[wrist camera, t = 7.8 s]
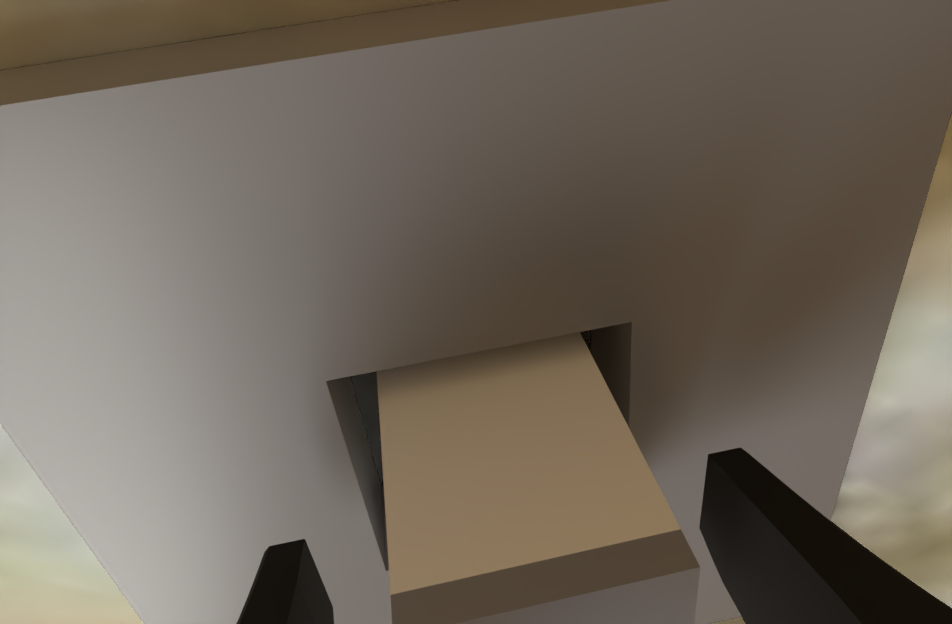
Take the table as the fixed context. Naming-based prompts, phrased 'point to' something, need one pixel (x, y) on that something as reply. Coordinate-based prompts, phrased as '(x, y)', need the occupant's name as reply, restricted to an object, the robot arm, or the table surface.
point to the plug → (524, 496)
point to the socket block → (447, 257)
